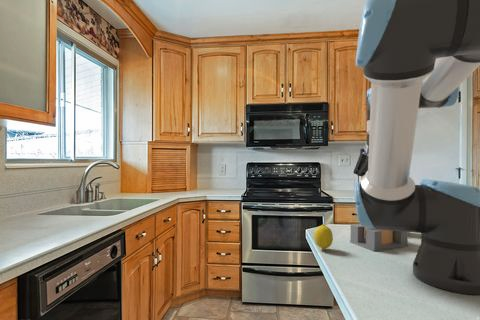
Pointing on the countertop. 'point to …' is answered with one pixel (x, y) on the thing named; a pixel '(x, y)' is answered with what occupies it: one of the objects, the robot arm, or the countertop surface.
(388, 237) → the block
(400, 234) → the grey stand
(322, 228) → the lemon
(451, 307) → the countertop surface
